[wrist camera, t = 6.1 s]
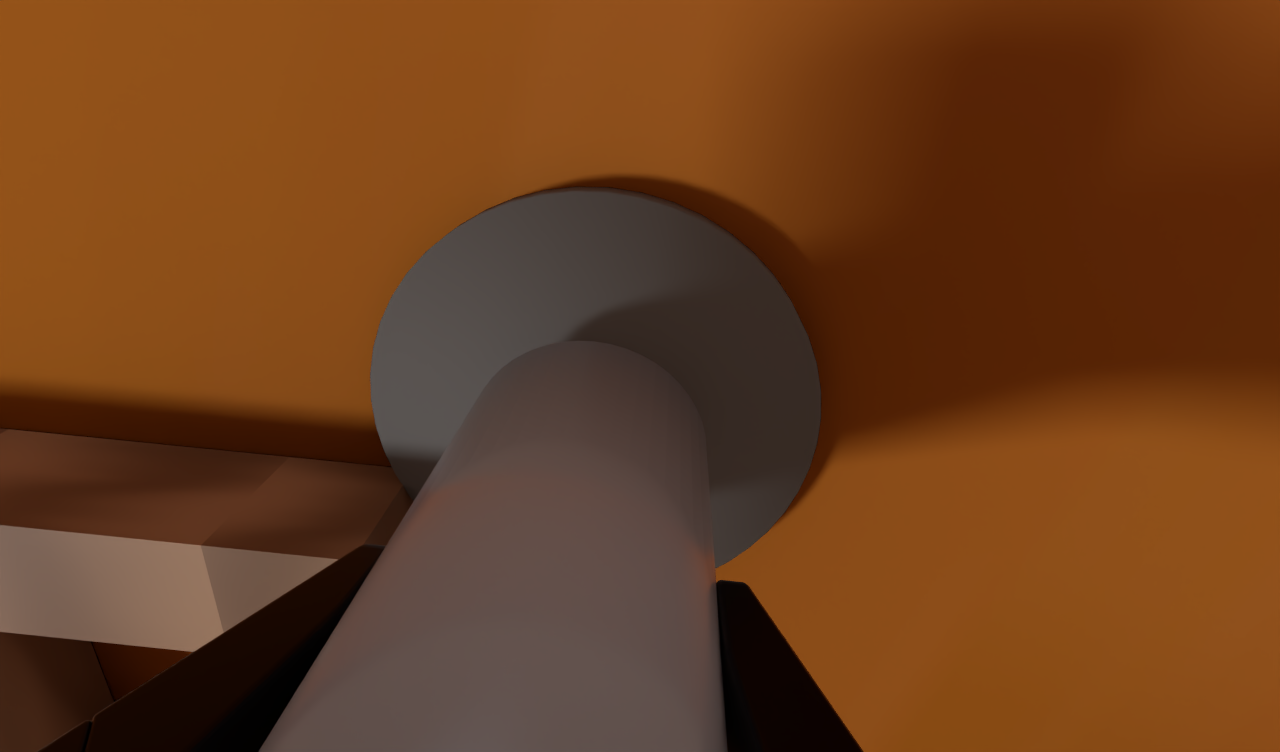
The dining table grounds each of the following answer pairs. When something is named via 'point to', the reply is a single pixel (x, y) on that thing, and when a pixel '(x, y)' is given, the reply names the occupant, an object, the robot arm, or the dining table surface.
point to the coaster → (607, 336)
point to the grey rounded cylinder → (538, 581)
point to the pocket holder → (154, 555)
